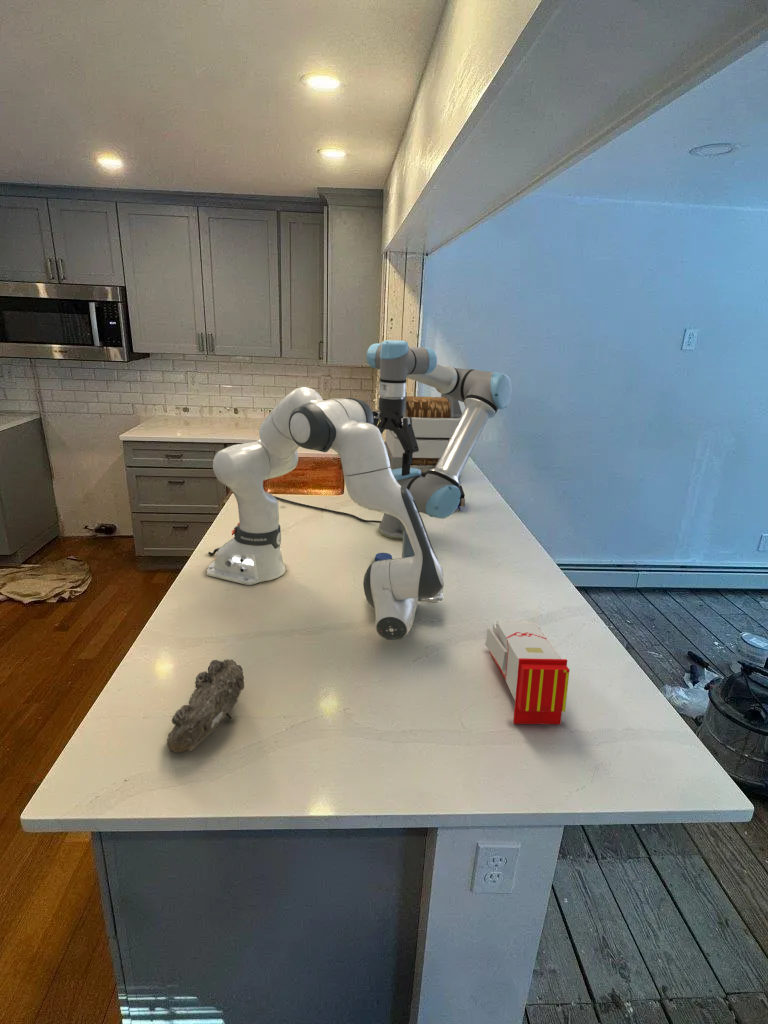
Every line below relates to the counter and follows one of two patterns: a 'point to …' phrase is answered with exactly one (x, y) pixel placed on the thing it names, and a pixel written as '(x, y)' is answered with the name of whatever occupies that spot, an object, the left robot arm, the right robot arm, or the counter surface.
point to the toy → (530, 671)
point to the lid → (382, 556)
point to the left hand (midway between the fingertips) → (408, 573)
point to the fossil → (206, 705)
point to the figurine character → (461, 498)
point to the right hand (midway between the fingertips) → (388, 469)
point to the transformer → (426, 429)
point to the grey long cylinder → (407, 546)
